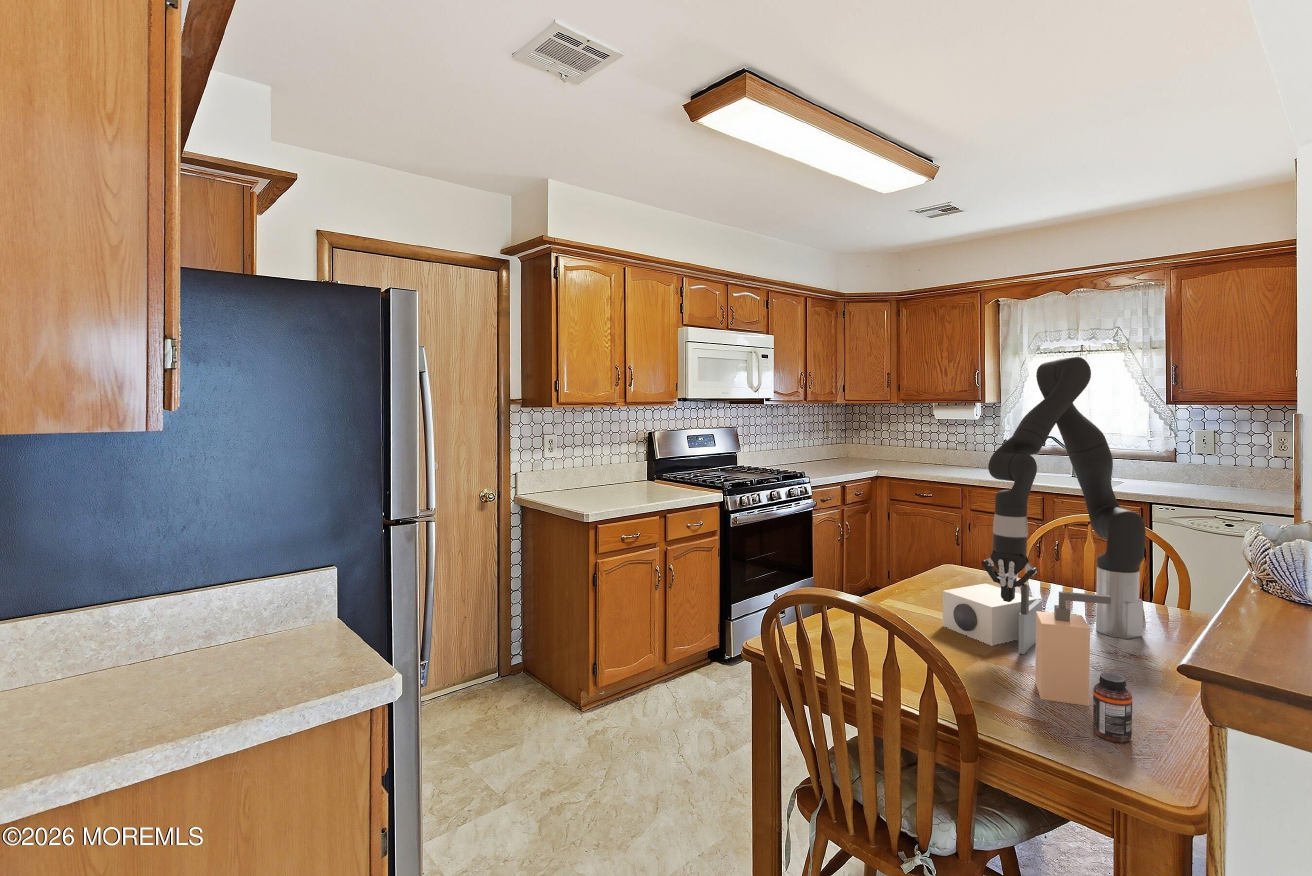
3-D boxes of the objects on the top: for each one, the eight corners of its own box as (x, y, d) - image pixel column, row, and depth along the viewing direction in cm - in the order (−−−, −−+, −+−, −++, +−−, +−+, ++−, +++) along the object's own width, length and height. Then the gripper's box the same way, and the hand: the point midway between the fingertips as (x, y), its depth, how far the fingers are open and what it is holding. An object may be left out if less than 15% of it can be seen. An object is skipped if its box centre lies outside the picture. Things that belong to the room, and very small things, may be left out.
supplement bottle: (1094, 724, 125) (1095, 667, 124) (1132, 734, 121) (1133, 675, 121) (1090, 737, 120) (1091, 678, 120) (1130, 747, 117) (1131, 686, 116)
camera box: (1036, 636, 171) (1036, 598, 170) (989, 646, 165) (989, 607, 164) (985, 617, 186) (985, 583, 185) (940, 626, 180) (940, 591, 179)
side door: (1043, 635, 170) (1044, 573, 169) (1025, 654, 159) (1026, 587, 158) (1037, 634, 171) (1038, 572, 170) (1018, 652, 160) (1019, 586, 159)
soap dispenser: (1040, 699, 136) (1041, 596, 135) (1035, 682, 144) (1036, 585, 142) (1113, 709, 131) (1115, 602, 129) (1103, 692, 139) (1105, 590, 137)
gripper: (976, 530, 163) (974, 598, 165) (1034, 539, 154) (1032, 610, 155) (987, 526, 169) (985, 592, 170) (1044, 534, 159) (1042, 603, 160)
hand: (1007, 600), depth 162 cm, fingers closed
